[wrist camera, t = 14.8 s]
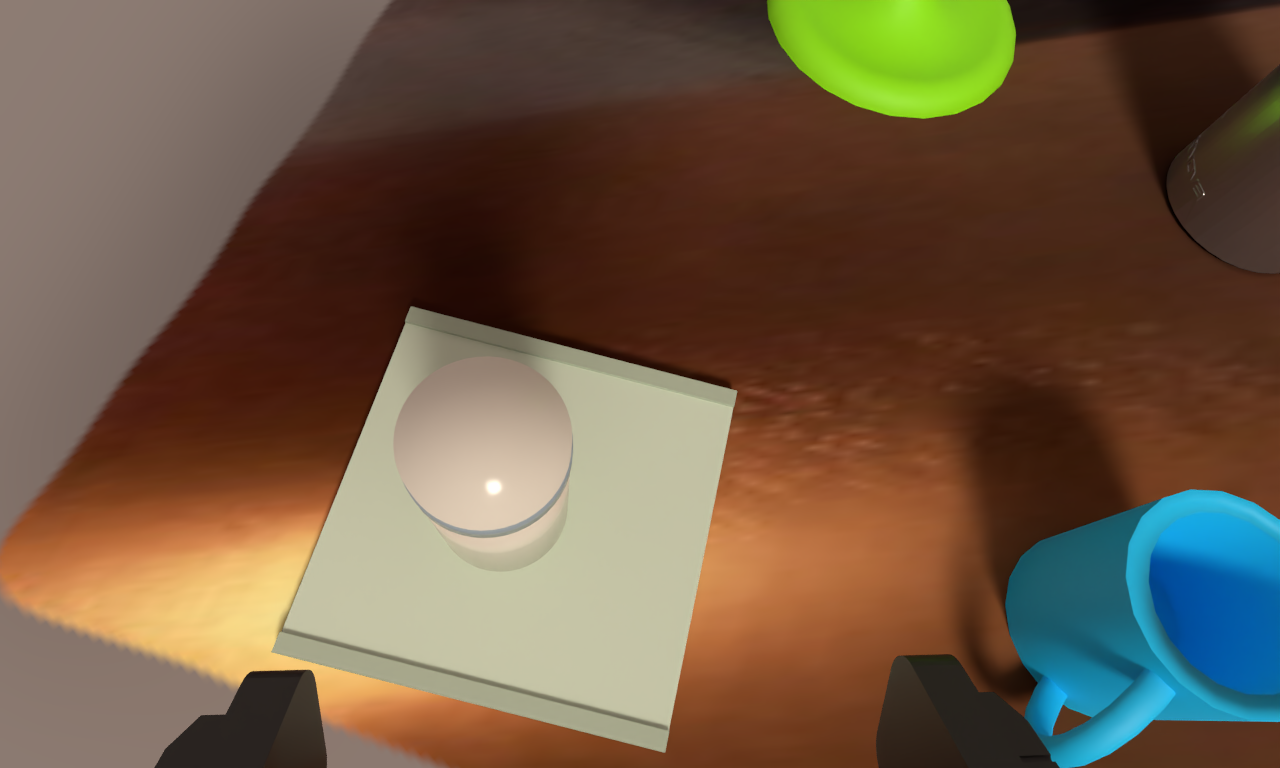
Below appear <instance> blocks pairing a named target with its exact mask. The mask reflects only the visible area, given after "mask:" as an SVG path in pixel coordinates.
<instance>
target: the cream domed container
mask: <svg viewBox="0 0 1280 768" xmlns="http://www.w3.org/2000/svg"><path fill="white" fill-rule="evenodd" d="M393 449H394V458H395V462H396V466H397V470H398V472H399V474H400V477H401V479H402V481H403V483H404V486H405V488H406V489H407V491H408V493H409V494H410V496H411V498H412V499H413V500H414V502H415V503H416V504H417V505H418V507H419V508H420V509H421V510H422V512H423V513H424V514H425V515H426V516H427V517H428V518H429V519H430V521H431V522H432V524H433V525H434V526H435V528H436V529H437V530H438V532H439V533H440V535H441V536H442V537H443V539H444V540H445V541H446V543H447V544H448V545H449V547H450V548H451V549H452V550H453V552H454V553H455V554H456V555H458V556H459V557H460V558H461V559H462V560H464V561H465V562H467V563H469V564H471V565H473V566H475V567H477V568H480V569H483V570H488V571H497V572H503V571H512V570H517V569H520V568H523V567H526V566H528V565H530V564H532V563H534V562H536V561H537V560H539V559H540V558H542V557H543V556H544V555H545V554H546V553H547V552H548V551H549V550H550V549H551V548H552V547H553V546H554V544H555V543H556V542H557V540H558V539H559V537H560V535H561V533H562V531H563V528H564V525H565V522H566V518H567V511H568V497H569V482H570V471H571V467H572V458H573V435H572V427H571V421H570V417H569V414H568V411H567V408H566V406H565V404H564V401H563V399H562V398H561V396H560V395H559V393H558V392H557V390H556V389H555V388H554V387H553V385H552V384H551V383H550V382H549V381H548V380H547V379H546V378H545V377H543V376H542V375H541V374H540V373H538V372H537V371H535V370H534V369H532V368H530V367H528V366H526V365H524V364H522V363H519V362H517V361H514V360H510V359H506V358H501V357H491V356H484V357H472V358H466V359H462V360H459V361H455V362H453V363H450V364H448V365H445V366H443V367H442V368H440V369H438V370H436V371H435V372H433V373H432V374H430V375H429V376H428V377H426V378H425V379H424V380H423V381H422V382H421V383H420V384H419V385H417V387H416V388H415V389H414V390H413V391H412V392H411V394H410V395H409V397H408V398H407V400H406V401H405V403H404V405H403V407H402V409H401V411H400V413H399V416H398V419H397V422H396V425H395V431H394V439H393Z"/></svg>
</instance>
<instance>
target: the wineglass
mask: <svg viewBox="0 0 1280 768" xmlns="http://www.w3.org/2000/svg"><path fill="white" fill-rule="evenodd" d="M767 6H768V18H769V20H770V23H771V25H772V28H773V30H774V32H775V35H776V37H777V39H778V42H779V44H780V45H781V47H782V48H783V49H784V50H785V52H786V53H787V54H788V55H789V57H790V58H791V59H792V61H793V62H794V63H795V64H796V66H797V67H798V68H799V69H800V70H801V71H803V72H804V73H805V74H806V75H807V76H809V77H810V78H811V79H812V80H814V81H815V82H816V83H817V84H819V85H820V86H821V87H822V88H823V89H825V90H827V91H829V92H830V93H832V94H834V95H836V96H838V97H840V98H842V99H844V100H846V101H848V102H850V103H852V104H854V105H856V106H859V107H862V108H865V109H869V110H872V111H876V112H879V113H883V114H886V115H890V116H900V117H913V118H931V117H938V116H944V115H951V114H957V113H959V112H961V111H963V110H966V109H968V108H970V107H973V106H975V105H977V104H979V103H982V102H983V101H984V100H985V99H986V98H987V97H989V96H990V95H991V94H992V93H993V92H994V91H995V90H996V89H997V88H999V87H1000V86H1001V84H1002V83H1003V81H1004V79H1005V77H1006V75H1007V73H1008V71H1009V69H1010V67H1011V65H1012V63H1013V58H1014V49H1015V39H1016V31H1015V26H1014V22H1013V18H1012V14H1011V10H1010V6H1009V4H1008V2H1007V0H767Z"/></svg>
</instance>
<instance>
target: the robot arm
mask: <svg viewBox="0 0 1280 768" xmlns="http://www.w3.org/2000/svg"><path fill="white" fill-rule="evenodd" d="M1166 186H1167V192H1168V198H1169V201H1170V204H1171V206H1172V208H1173V211H1174V213H1175V215H1176V216H1177V218H1178V220H1179V221H1180V223H1181V224H1182V226H1183V227H1184V228H1185V230H1186V231H1187V232H1188V233H1189V234H1190V235H1191V236H1192V237H1193V239H1194V240H1195V241H1197V242H1198V243H1199V244H1200V245H1201V246H1203V247H1204V248H1205V249H1206V250H1207V251H1208V252H1210V253H1212V254H1213V255H1215V256H1217V257H1218V258H1220V259H1221V260H1223V261H1225V262H1227V263H1229V264H1232V265H1234V266H1236V267H1239V268H1241V269H1245V270H1249V271H1253V272H1257V273H1272V274H1274V273H1280V64H1279V65H1278V66H1277V67H1276V68H1275V69H1274V70H1273V71H1271V72H1270V73H1269V74H1268V75H1267V76H1266V77H1265V78H1264V79H1262V80H1261V81H1260V82H1259V83H1258V84H1257V85H1256V86H1254V87H1253V88H1252V89H1251V90H1250V91H1249V92H1248V93H1247V94H1245V95H1244V96H1243V97H1242V98H1241V99H1240V100H1239V101H1237V102H1236V103H1235V104H1234V105H1233V106H1232V107H1231V108H1229V109H1228V110H1227V111H1226V112H1225V113H1224V114H1223V115H1222V116H1220V117H1219V118H1218V119H1217V120H1216V121H1215V122H1214V123H1213V124H1211V125H1210V126H1209V127H1208V128H1207V129H1206V130H1205V131H1203V132H1202V133H1201V134H1200V135H1199V136H1198V137H1197V138H1196V139H1194V140H1193V141H1192V142H1191V143H1190V144H1189V145H1188V146H1187V147H1185V148H1184V149H1183V150H1182V151H1181V152H1180V153H1179V154H1178V155H1177V156H1176V157H1175V159H1174V160H1173V161H1172V163H1171V165H1170V168H1169V170H1168V173H1167V183H1166ZM876 750H877V760H878V765H879V768H1060V767H1059V766H1058V765H1057V763H1056V762H1052V760H1051V754H1050V753H1049V751H1048V750H1047V748H1046V747H1045V745H1044V744H1043V742H1042V741H1041V740H1040V738H1039V737H1038V735H1037V734H1036V732H1035V731H1034V729H1033V728H1032V726H1031V725H1030V723H1029V722H1028V721H1027V720H1026V719H1025V718H1024V717H1023V716H1022V715H1020V714H1019V713H1018V712H1017V711H1016V710H1015V709H1013V708H1012V707H1011V706H1010V705H1009V704H1007V703H1006V702H1005V701H1004V700H1003V699H1002V698H1000V697H999V696H998V695H997V694H996V693H994V692H978V690H977V689H976V687H975V686H974V684H973V683H972V681H971V679H970V678H969V676H968V675H967V673H966V672H965V670H964V668H963V667H962V665H961V664H960V662H959V661H958V660H957V659H956V658H955V657H954V656H952V655H949V654H942V655H906V656H898V657H896V658H895V660H894V662H893V664H892V667H891V672H890V676H889V681H888V685H887V690H886V695H885V699H884V704H883V708H882V713H881V717H880V722H879V726H878V731H877V738H876ZM155 768H327V755H326V747H325V741H324V733H323V727H322V720H321V714H320V707H319V701H318V694H317V688H316V682H315V677H314V674H313V673H312V671H311V670H285V671H252V672H250V673H249V674H247V676H246V677H245V678H244V680H243V682H242V683H241V685H240V687H239V689H238V691H237V693H236V695H235V697H234V699H233V701H232V703H231V705H230V707H229V709H228V711H227V713H226V715H202V716H200V717H199V718H198V719H197V720H196V721H195V722H194V723H193V724H192V725H190V726H189V727H188V728H187V729H186V730H185V731H184V732H183V733H182V734H181V735H180V736H179V737H178V738H177V739H176V740H175V741H173V743H171V744H170V745H169V746H168V747H167V748H166V749H165V750H164V752H163V754H162V756H161V757H160V759H159V761H158V763H157V765H156V766H155Z"/></svg>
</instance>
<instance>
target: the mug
mask: <svg viewBox="0 0 1280 768" xmlns="http://www.w3.org/2000/svg"><path fill="white" fill-rule="evenodd" d="M1005 607H1006V613H1007V620H1008V627H1009V633H1010V636H1011V639H1012V641H1013V643H1014V645H1015V648H1016V650H1017V652H1018V654H1019V657H1020V659H1021V661H1022V663H1023V665H1024V666H1025V667H1026V668H1027V670H1028V671H1029V672H1030V674H1031V675H1032V676H1033V677H1034V679H1035V680H1036V681H1037V682H1038V684H1037V686H1036V687H1035V689H1034V691H1033V694H1032V696H1031V698H1030V700H1029V703H1028V705H1027V707H1026V711H1025V717H1024V718H1025V719H1026V720H1027V721H1028V722H1029V723H1030V725H1031V726H1032V728H1033V729H1034V731H1035V732H1036V734H1037V735H1038V737H1039V738H1040V740H1041V741H1042V742H1043V744H1044V745H1045V747H1046V748H1047V750H1048V751H1049V753H1050V754H1051V760H1052V762H1056V763H1057V765H1058V766H1059V767H1060V768H1070V767H1078V766H1084V765H1087V764H1089V763H1091V762H1093V761H1095V760H1098V759H1100V758H1102V757H1104V756H1107V755H1109V754H1111V753H1112V752H1114V751H1115V750H1116V749H1118V748H1119V747H1121V746H1122V745H1123V744H1125V743H1126V742H1128V741H1129V740H1131V739H1132V738H1133V737H1135V736H1136V735H1138V734H1139V733H1140V732H1141V731H1142V730H1143V729H1144V728H1145V727H1146V726H1147V725H1148V724H1149V723H1150V722H1151V721H1152V720H1198V721H1264V722H1280V520H1279V519H1277V518H1276V517H1274V516H1273V515H1271V514H1270V513H1268V512H1267V511H1265V510H1264V509H1263V508H1261V507H1260V506H1258V505H1257V504H1255V503H1253V502H1250V501H1248V500H1245V499H1242V498H1239V497H1236V496H1234V495H1231V494H1228V493H1225V492H1223V491H1208V490H1188V491H1184V492H1181V493H1178V494H1175V495H1172V496H1168V497H1165V498H1162V499H1159V500H1156V501H1153V502H1151V503H1148V504H1145V505H1142V506H1139V507H1136V508H1133V509H1130V510H1128V511H1125V512H1122V513H1119V514H1116V515H1113V516H1110V517H1107V518H1104V519H1102V520H1099V521H1096V522H1093V523H1090V524H1087V525H1084V526H1081V527H1078V528H1076V529H1073V530H1070V531H1067V532H1064V533H1061V534H1058V535H1055V536H1052V537H1050V538H1047V539H1044V540H1041V541H1039V542H1038V543H1036V544H1035V545H1034V546H1033V547H1032V548H1030V549H1029V550H1028V551H1027V552H1026V553H1024V554H1023V555H1022V556H1021V557H1020V559H1019V561H1018V563H1017V565H1016V567H1015V568H1014V570H1013V572H1012V574H1011V576H1010V578H1009V583H1008V590H1007V596H1006V603H1005ZM1062 705H1065V706H1066V707H1067V708H1069V709H1072V710H1075V711H1077V712H1080V713H1083V714H1085V715H1088V716H1091V717H1092V718H1091V719H1090V720H1088V721H1087V722H1086V723H1084V724H1082V725H1080V726H1078V727H1076V728H1074V729H1072V730H1070V731H1067V732H1065V733H1063V734H1059V735H1054V736H1052V734H1053V726H1054V724H1055V721H1056V719H1057V716H1058V714H1059V711H1060V709H1061V707H1062Z"/></svg>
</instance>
